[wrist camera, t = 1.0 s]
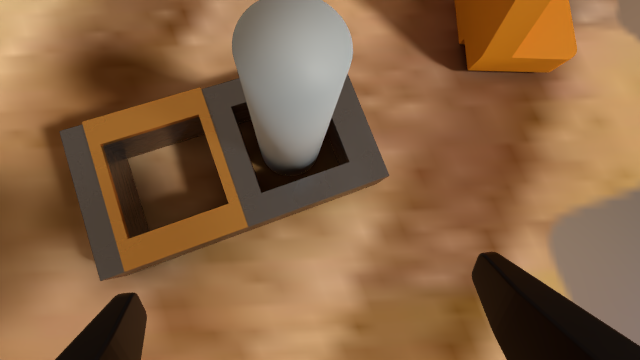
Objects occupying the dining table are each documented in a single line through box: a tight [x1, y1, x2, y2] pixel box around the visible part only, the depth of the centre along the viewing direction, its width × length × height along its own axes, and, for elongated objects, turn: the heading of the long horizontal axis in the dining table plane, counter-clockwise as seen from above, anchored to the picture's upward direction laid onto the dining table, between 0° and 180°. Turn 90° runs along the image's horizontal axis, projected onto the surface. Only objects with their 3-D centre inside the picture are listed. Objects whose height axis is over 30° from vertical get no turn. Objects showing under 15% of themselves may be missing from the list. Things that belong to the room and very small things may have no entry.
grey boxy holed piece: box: [60, 73, 389, 281], centre depth 21 cm, size 9×17×3 cm, turn 111°
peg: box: [232, 0, 353, 176], centre depth 17 cm, size 4×4×12 cm
